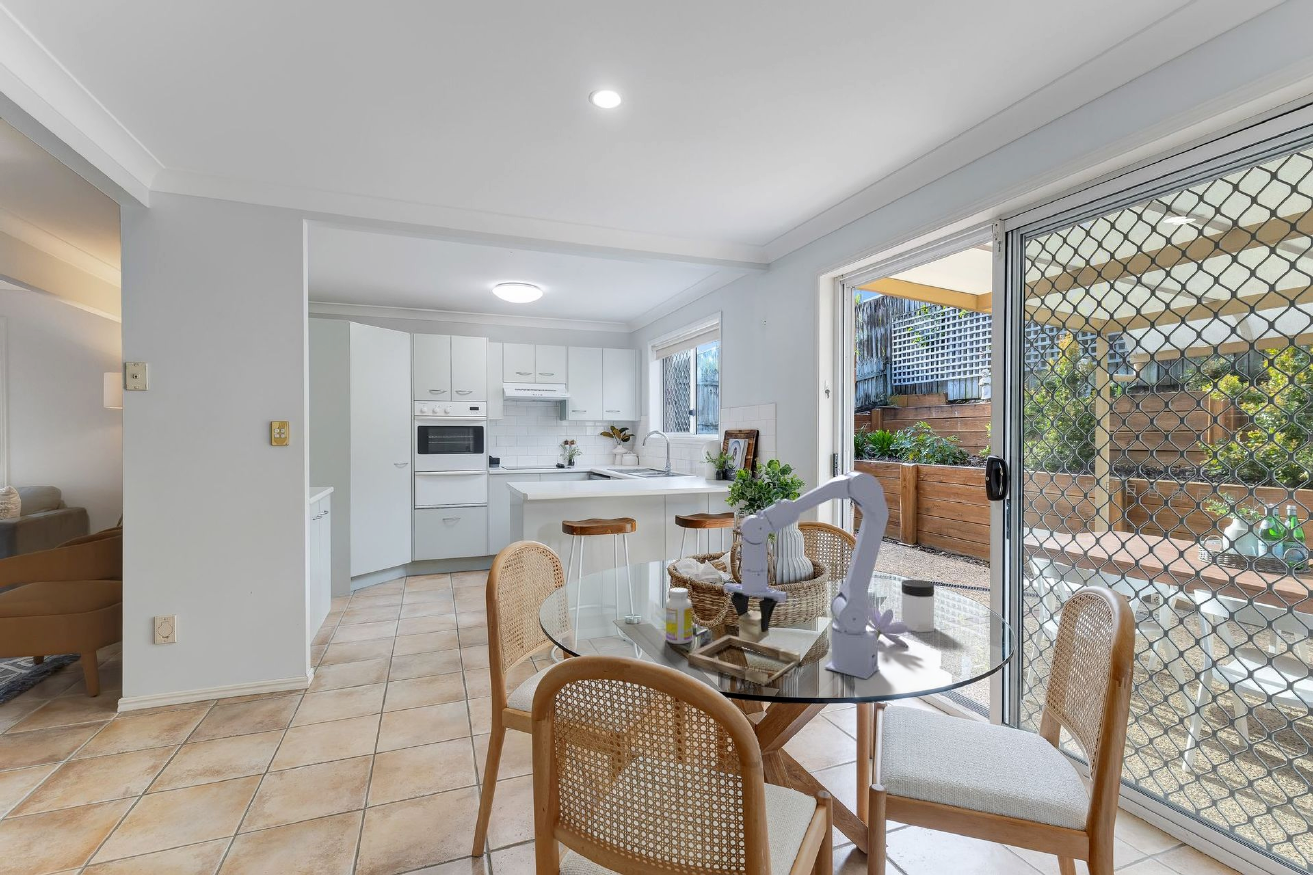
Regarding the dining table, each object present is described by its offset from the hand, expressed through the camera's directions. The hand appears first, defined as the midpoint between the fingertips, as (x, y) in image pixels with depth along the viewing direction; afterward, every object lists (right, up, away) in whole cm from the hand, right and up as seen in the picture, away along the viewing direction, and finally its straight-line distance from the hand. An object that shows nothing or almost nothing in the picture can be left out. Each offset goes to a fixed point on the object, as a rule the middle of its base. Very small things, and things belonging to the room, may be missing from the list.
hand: (754, 628), depth 136 cm
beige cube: (0, -2, 0) cm, 2 cm away
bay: (-2, -8, +1) cm, 9 cm away
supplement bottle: (-17, -8, +16) cm, 24 cm away
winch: (-11, -8, +11) cm, 18 cm away
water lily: (+35, -9, +13) cm, 38 cm away
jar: (+48, -8, +26) cm, 56 cm away
